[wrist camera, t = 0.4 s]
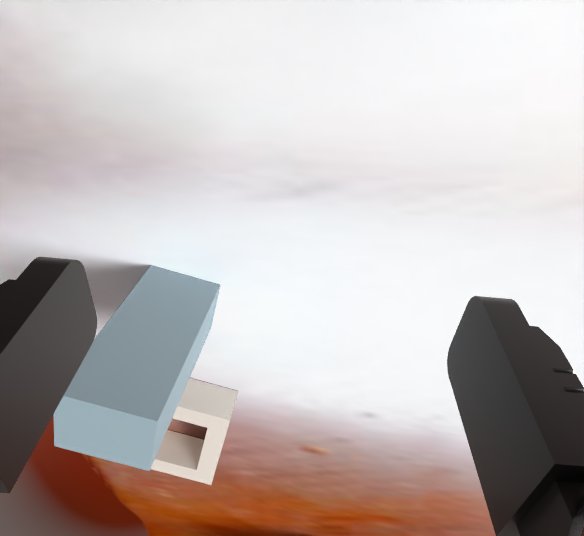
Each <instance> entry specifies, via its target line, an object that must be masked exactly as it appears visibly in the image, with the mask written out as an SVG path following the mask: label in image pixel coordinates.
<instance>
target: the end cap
mask: <svg viewBox="0 0 584 536" xmlns="http://www.w3.org/2000/svg"><path fill="white" fill-rule="evenodd" d="M237 394H238V391H236V390H232V389H228V388H225V387H221V386H217V385H214V384H210V383H207V382H203V381H199V380H196V379H192V378H189V380H188V382H187V385H186V387H185V389H184V392H183V394H182V396H181V399H180V401H179V403H178V406H177V408H176V410H175V413H174V415H173V417H172V418H173V419H177V420H180V421H184V422H188V423H191V424H195V425H199V426H203V427H206V428H207V432H206V436H205V440H203V439H200V438H196V437H192V436H189V435H185V434H181V433H177V432H174V431H170V430H167V431H166V434H165V436H164V439H163V441H162V443H161V446H160V448H159V450H158V453H157V455H156V457H155V460H154V462H153V464H152V467H151V469H153V470H157V471H160V472H164V473H168V474H172V475H175V476H179V477H183V478H187V479H190V480H194V481H198V482H202V483H206V484H209V485H211V484H212V480H213V477H214V473H215V470H216V466H217V463H218V460H219V456H220V453H221V449H222V446H223V442H224V439H225V436H226V432H227V429H228V425H229V422H230V419H231V415H232V411H233V408H234V404H235V401H236V397H237Z"/></svg>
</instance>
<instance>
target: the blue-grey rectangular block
mask: <svg viewBox="0 0 584 536" xmlns="http://www.w3.org/2000/svg"><path fill="white" fill-rule="evenodd" d="M219 289H220V285H219V284H215V283H212V282H208V281H205V280H201V279H198V278H194V277H191V276H187V275H184V274H180V273H177V272H173V271H170V270H166V269H163V268H159V267H156V266H152V265H151V266H150V267H149V269H148V270H147V271H146V272H145V274H144V275H143V276H142V278H141V279H140V280H139V282H138V283H137V284H136V286H135V287H134V288H133V289H132V291H131V292H130V293H129V295H128V296H127V297H126V299H125V300H124V301H123V303H122V304H121V305H120V306H119V308H118V309H117V310H116V312H115V313H114V314H113V316H112V317H111V318H110V320H109V321H108V322H107V323H106V325H105V326H104V327H103V329H102V330H101V331H100V333H99V334H98V335H97V337H96V338H95V339H94V340H93V343H92V345H91V347H90V349H89V351H88V352H87V354H86V356H85V358H84V360H83V361H82V363H81V365H80V367H79V369H78V370H77V372H76V374H75V376H74V378H73V379H72V381H71V383H70V385H69V387H68V389H67V390H66V392H65V394H64V396H63V398H62V399H61V401H60V403H59V405H58V407H57V408H56V410H55V412H54V446H57V447H61V448H65V449H68V450H72V451H76V452H80V453H83V454H87V455H91V456H94V457H98V458H102V459H106V460H110V461H113V462H117V463H121V464H125V465H128V466H132V467H136V468H140V469H143V470H147V471H150V469H151V467H152V464H153V462H154V460H155V457H156V455H157V453H158V450H159V448H160V446H161V443H162V441H163V439H164V436H165V434H166V431H167V429H168V427H169V424H170V422H171V420H172V417H173V415H174V413H175V410H176V408H177V406H178V403H179V401H180V399H181V396H182V394H183V392H184V389H185V387H186V385H187V382H188V380H189V378H190V375H191V373H192V371H193V368H194V366H195V364H196V361H197V359H198V357H199V354H200V352H201V350H202V347H203V345H204V343H205V340H206V338H207V336H208V333H209V331H210V329H211V325H212V320H213V316H214V311H215V307H216V302H217V298H218V293H219Z"/></svg>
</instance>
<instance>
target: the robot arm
mask: <svg viewBox="0 0 584 536" xmlns="http://www.w3.org/2000/svg"><path fill="white" fill-rule="evenodd" d="M96 328H97V316H96V312H95V308H94V304H93V300H92V296H91V292H90V289H89V285H88V281H87V277H86V273H85V270H84V267H83V265H82V263H81V262H80V261H78V260H71V259H59V258H48V257H38V258H36V259H34V260H33V261H32V262H31V263H30V265H29V266H28V267H27V268H26V269H25V270H24V271H23V273H22V274H21V275H20V276H19V277H18V278H17V279H16V280H10V279H9V280H7V281H6V282H4V283H2V284H1V285H0V492H2V493H10V492H11V490H12V488H13V486H14V484H15V483H16V481H17V479H18V477H19V475H20V474H21V472H22V470H23V468H24V466H25V465H26V463H27V461H28V459H29V457H30V456H31V454H32V452H33V450H34V448H35V446H36V445H37V443H38V441H39V439H40V437H41V436H42V434H43V432H44V430H45V428H46V427H47V425H48V423H49V421H50V419H51V418H52V416H53V414H54V412H55V410H56V408H57V407H58V405H59V403H60V401H61V399H62V398H63V396H64V394H65V392H66V390H67V389H68V387H69V385H70V383H71V381H72V379H73V378H74V376H75V374H76V372H77V370H78V369H79V367H80V365H81V363H82V361H83V360H84V358H85V356H86V354H87V352H88V351H89V349H90V347H91V345H92V343H93V340H94V337H95V334H96ZM447 367H448V375H449V379H450V382H451V385H452V389H453V392H454V396H455V399H456V402H457V406H458V409H459V412H460V416H461V419H462V422H463V426H464V429H465V433H466V436H467V439H468V443H469V446H470V449H471V453H472V456H473V460H474V463H475V466H476V470H477V473H478V476H479V480H480V483H481V486H482V490H483V493H484V497H485V500H486V503H487V507H488V510H489V513H490V517H491V520H492V524H493V527H494V530H495V534H496V536H584V387H583V386H582V384H581V382H580V381H579V379H578V377H577V375H576V374H573V369H572V367H571V365H570V364H569V362H568V360H567V358H566V357H565V355H564V353H563V352H562V350H561V348H560V347H559V346H558V345H557V344H556V343H555V342H554V341H553V340H552V339H551V338H550V337H549V336H547V335H546V334H545V333H544V332H543V331H542V330H541V329H540V328H539V327H535V326H529V324H528V322H527V321H526V319H525V317H524V315H523V313H522V311H521V309H520V308H519V306H518V304H517V303H516V302H515V301H514V300H512V299H503V298H491V297H480V296H474V297H472V298H471V299H470V301H469V302H468V304H467V307H466V309H465V311H464V314H463V316H462V319H461V321H460V323H459V326H458V328H457V331H456V333H455V335H454V338H453V340H452V343H451V345H450V348H449V352H448V359H447Z"/></svg>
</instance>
